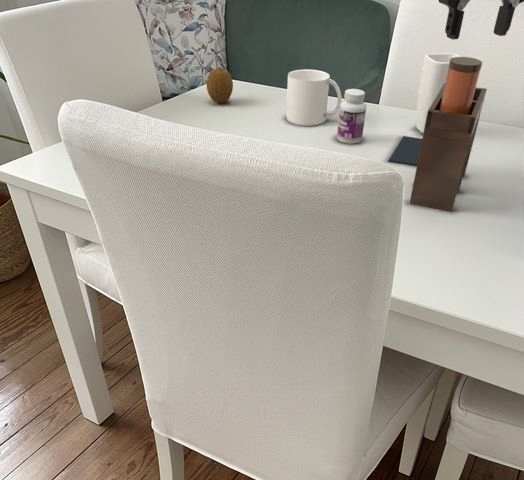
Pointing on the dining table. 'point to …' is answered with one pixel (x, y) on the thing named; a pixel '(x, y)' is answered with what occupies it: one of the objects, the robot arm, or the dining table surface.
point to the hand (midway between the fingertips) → (476, 36)
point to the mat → (407, 151)
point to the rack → (445, 153)
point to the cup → (431, 83)
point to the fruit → (219, 85)
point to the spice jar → (460, 85)
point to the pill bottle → (351, 117)
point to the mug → (309, 97)
